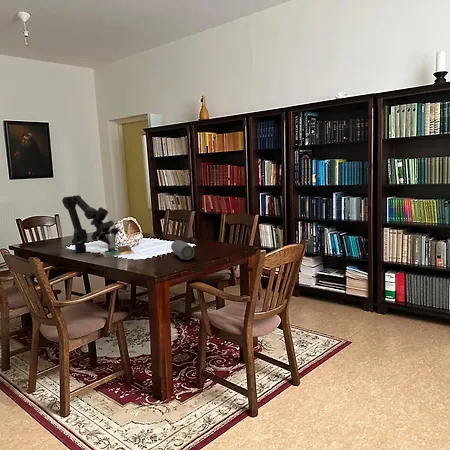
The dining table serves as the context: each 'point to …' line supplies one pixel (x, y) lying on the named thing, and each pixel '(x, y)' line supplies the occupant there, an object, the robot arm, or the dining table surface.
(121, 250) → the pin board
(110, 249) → the pin
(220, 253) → the dining table surface
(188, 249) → the bluetooth speaker
